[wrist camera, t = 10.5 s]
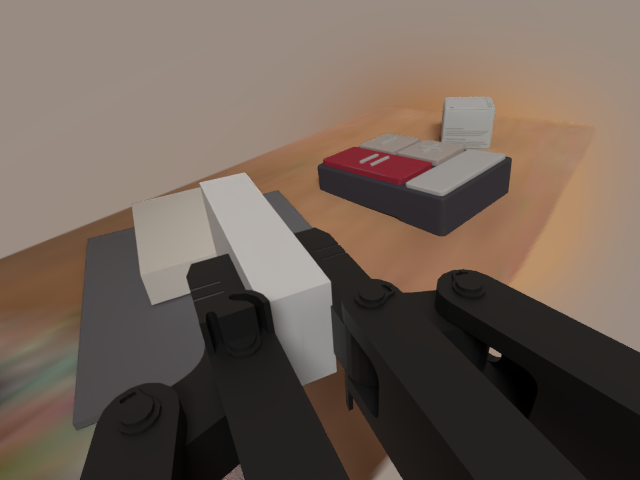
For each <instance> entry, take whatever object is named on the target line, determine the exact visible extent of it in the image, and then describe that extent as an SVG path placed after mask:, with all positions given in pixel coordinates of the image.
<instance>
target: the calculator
mask: <svg viewBox="0 0 640 480" xmlns="http://www.w3.org/2000/svg"><path fill="white" fill-rule="evenodd" d="M511 162H512V159H511V158H510V157H505V155H504V154H499V153H493V152H487V151H481V150H475V149H468V150H464V146H462V145H456V144H450V143H444V142H438V141H432V140H423V141H421V142H420V139H419V138H413V137H407V136H400V135H394V134H384V135H381V136H379V137H376V138H374V139H371V140H369V141H367V142H364V143H362V144H360V145H359V147H352V148H350V149H347V150H345V151H342V152H340V153H337V154H335V155H333V156H330V157H328V158H325V159H323V163H322V164H319V165H318V175H319V183H320V189H321V190H323V191H325V192H328V193H330V194H333V195H336V196H338V197H341V198H343V199H346V200H348V201H351V202H353V203H356V204H359V205H361V206H364V207H367V208H370V209H373V210H376V211H379V212H382V213H385V214H388V215H391V216H394V217H397V218H398V219H399V220H400V221H402V222H404V223H407V224H409V225H412V226H414V227H417V228H419V229H422V230H425V231H427V232H430V233H432V234H435V235H437V236H446V235H447V234H449V233H450V232H452V231H453V230H455V229H456V228H458V227H459V226H460V225H462V224H463V223H465V222H466V221H468V220H469V219H471V218H472V217H473V216H475V215H476V214H478V213H479V212H481V211H482V210H484V209H485V208H486V207H488V206H489V205H491V204H492V203H494V202H495V201H496V200H498V199H499V198H501V197H502V196H504V195H505V194H507V193H508V188H509V180H510V171H511Z"/></svg>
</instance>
